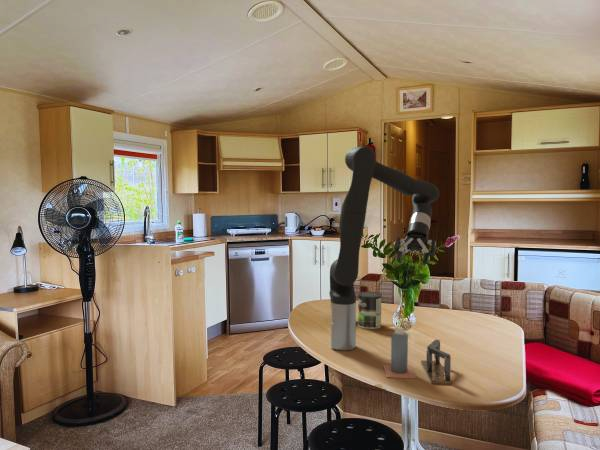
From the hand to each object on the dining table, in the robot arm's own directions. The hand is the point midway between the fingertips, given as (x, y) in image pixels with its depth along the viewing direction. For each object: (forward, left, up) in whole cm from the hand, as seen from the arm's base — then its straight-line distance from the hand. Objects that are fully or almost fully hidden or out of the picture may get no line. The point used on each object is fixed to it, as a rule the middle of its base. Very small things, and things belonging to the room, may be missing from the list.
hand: (411, 262), depth 163 cm
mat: (-6, -14, -34) cm, 37 cm away
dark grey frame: (+6, -15, -34) cm, 37 cm away
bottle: (-6, -14, -33) cm, 37 cm away
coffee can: (-11, +37, -34) cm, 52 cm away
